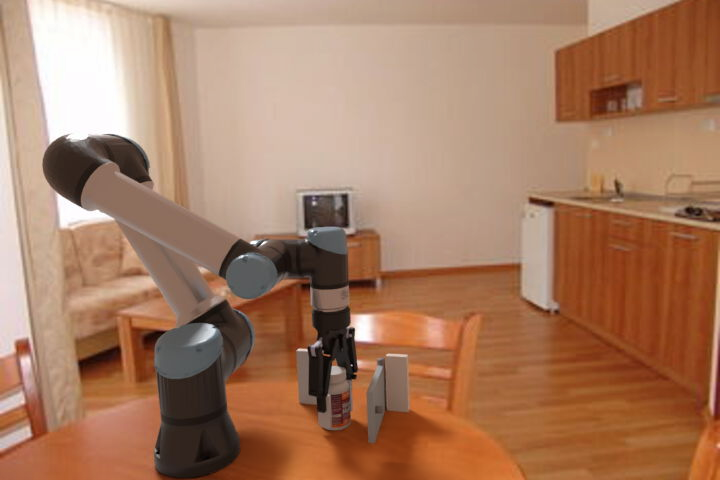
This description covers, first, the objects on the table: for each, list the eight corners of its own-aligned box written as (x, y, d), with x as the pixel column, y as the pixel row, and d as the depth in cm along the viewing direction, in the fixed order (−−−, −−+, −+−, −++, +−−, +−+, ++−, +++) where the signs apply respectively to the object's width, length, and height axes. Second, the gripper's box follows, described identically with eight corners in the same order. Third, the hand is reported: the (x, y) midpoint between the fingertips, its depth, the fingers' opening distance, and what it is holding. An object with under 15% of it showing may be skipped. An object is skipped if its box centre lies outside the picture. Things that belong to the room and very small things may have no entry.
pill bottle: (349, 431, 110) (347, 375, 109) (318, 431, 111) (315, 376, 109) (352, 417, 116) (349, 364, 115) (322, 418, 117) (319, 365, 115)
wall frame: (299, 403, 124) (296, 350, 122) (301, 400, 126) (298, 348, 124) (408, 412, 118) (406, 357, 116) (409, 409, 119) (408, 354, 117)
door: (379, 406, 121) (377, 357, 119) (391, 407, 120) (390, 357, 119) (366, 442, 106) (364, 387, 104) (381, 443, 105) (379, 387, 104)
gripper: (317, 323, 99) (323, 444, 103) (372, 296, 116) (376, 401, 120) (283, 318, 103) (290, 435, 107) (341, 293, 120) (346, 395, 124)
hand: (336, 417), depth 113 cm, fingers open, 7 cm apart
